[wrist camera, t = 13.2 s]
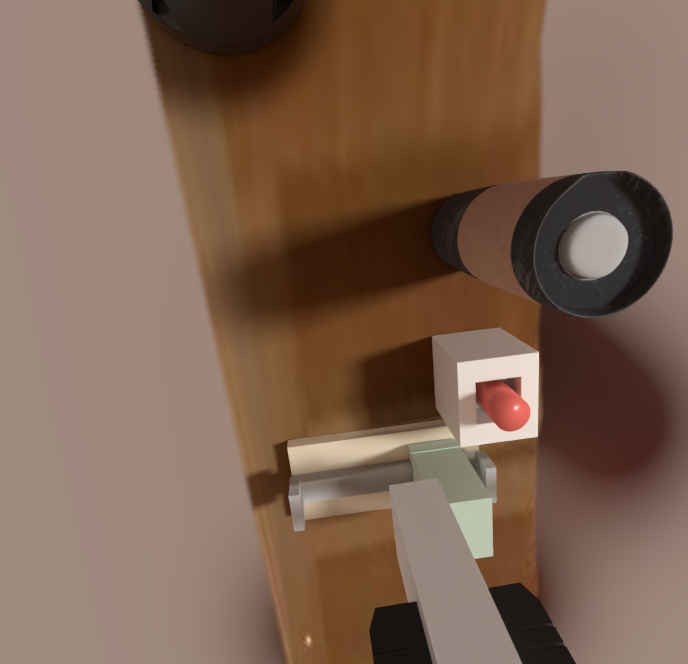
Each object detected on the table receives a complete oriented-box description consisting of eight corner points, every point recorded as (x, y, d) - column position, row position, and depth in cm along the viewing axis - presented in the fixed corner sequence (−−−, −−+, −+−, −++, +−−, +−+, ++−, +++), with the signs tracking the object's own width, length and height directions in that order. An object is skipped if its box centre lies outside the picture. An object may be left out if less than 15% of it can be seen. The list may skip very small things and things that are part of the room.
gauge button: (471, 376, 39) (493, 400, 34) (503, 372, 39) (530, 395, 34) (472, 406, 40) (494, 433, 35) (504, 402, 40) (530, 429, 35)
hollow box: (431, 336, 44) (457, 362, 36) (499, 327, 44) (538, 352, 36) (435, 407, 46) (460, 447, 38) (500, 399, 46) (537, 436, 38)
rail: (288, 440, 46) (284, 473, 40) (472, 415, 46) (495, 444, 41) (299, 511, 48) (298, 552, 42) (475, 486, 49) (496, 523, 43)
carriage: (408, 444, 45) (432, 504, 36) (455, 438, 45) (491, 496, 36) (412, 495, 46) (436, 565, 37) (457, 489, 47) (493, 557, 38)
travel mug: (468, 286, 42) (597, 349, 23) (411, 237, 41) (499, 260, 22) (522, 224, 41) (706, 236, 22) (465, 170, 40) (610, 132, 20)
